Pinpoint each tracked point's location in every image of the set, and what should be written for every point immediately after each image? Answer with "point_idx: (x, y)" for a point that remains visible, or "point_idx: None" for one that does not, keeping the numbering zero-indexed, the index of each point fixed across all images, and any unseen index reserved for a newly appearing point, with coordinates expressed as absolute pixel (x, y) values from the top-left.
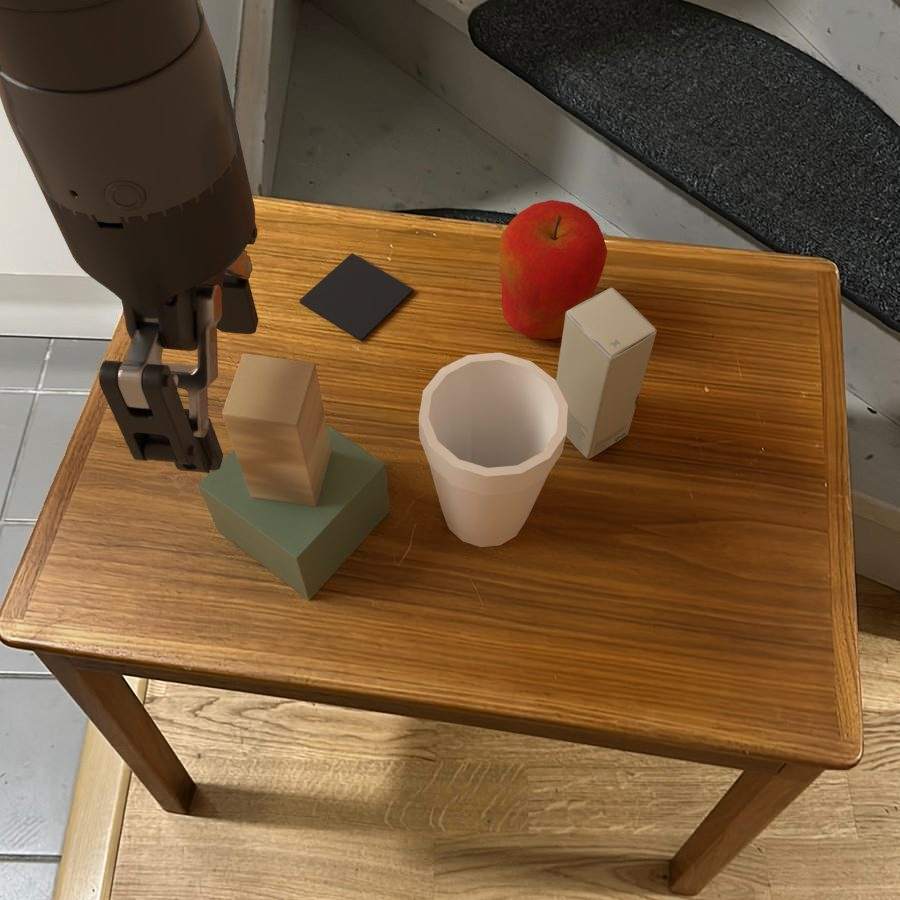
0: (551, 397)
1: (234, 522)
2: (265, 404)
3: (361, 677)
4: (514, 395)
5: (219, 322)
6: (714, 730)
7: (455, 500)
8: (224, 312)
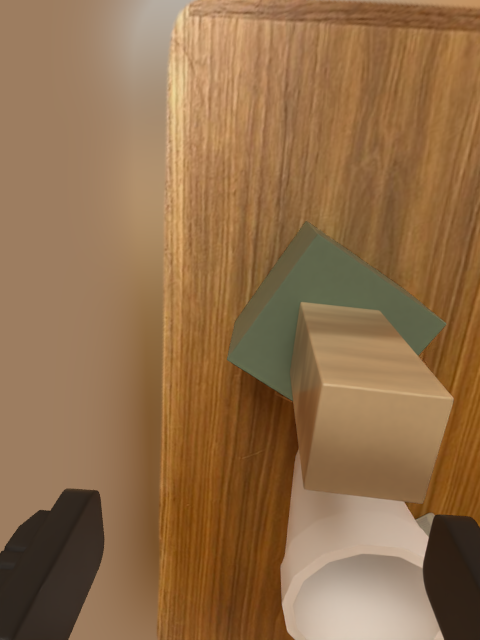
0: None
1: (283, 270)
2: (341, 445)
3: (169, 371)
4: (413, 584)
5: (448, 542)
6: (162, 590)
7: (298, 503)
8: (461, 597)
